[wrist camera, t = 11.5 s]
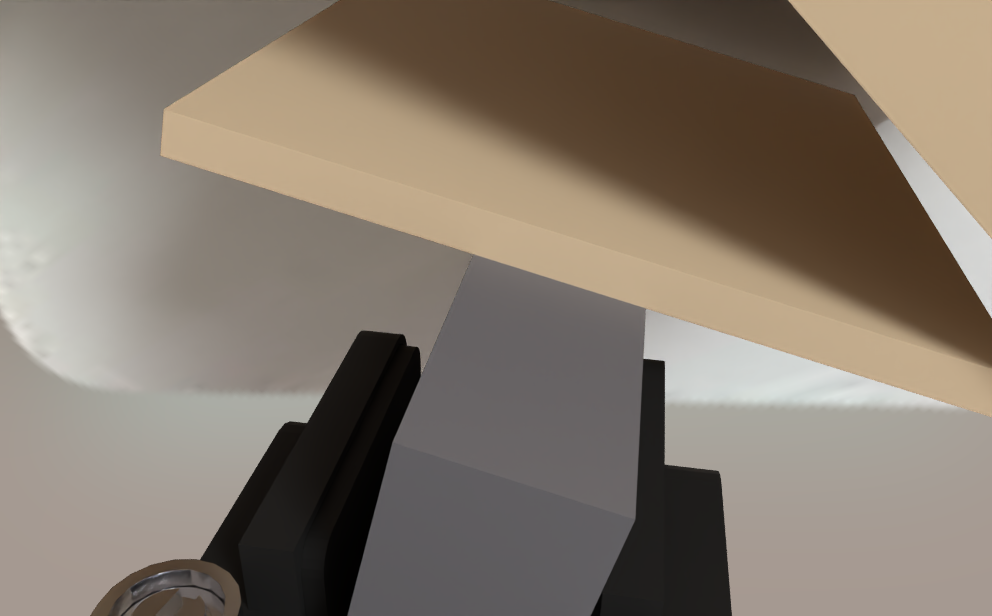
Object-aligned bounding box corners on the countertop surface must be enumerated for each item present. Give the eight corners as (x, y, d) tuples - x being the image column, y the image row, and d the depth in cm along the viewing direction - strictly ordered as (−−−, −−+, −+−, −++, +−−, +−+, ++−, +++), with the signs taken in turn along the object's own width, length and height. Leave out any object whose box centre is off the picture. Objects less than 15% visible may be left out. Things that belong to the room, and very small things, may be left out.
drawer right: (854, 94, 17) (1183, 633, 6) (759, 293, 20) (875, 948, 8) (409, -44, 17) (-51, 242, 6) (366, 170, 20) (-28, 656, 9)
